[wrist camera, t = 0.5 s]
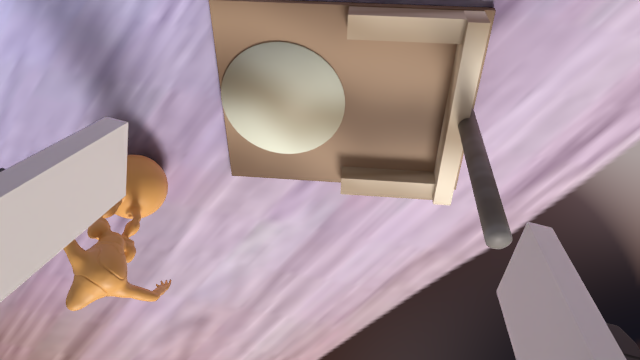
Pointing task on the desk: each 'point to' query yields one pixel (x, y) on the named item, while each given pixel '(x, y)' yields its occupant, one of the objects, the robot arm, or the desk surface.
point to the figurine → (117, 241)
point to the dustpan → (358, 97)
